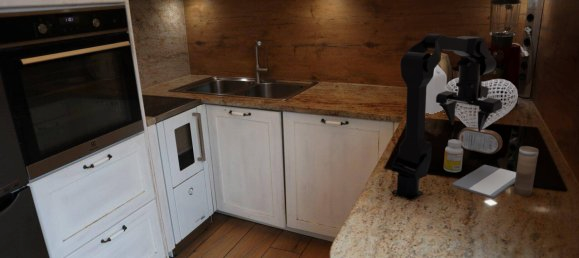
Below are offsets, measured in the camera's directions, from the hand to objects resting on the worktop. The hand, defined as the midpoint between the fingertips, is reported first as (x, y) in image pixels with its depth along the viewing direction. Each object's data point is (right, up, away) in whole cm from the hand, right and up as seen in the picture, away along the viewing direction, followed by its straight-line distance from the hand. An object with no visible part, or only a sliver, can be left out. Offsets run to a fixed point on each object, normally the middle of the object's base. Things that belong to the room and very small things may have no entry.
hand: (465, 127), depth 130 cm
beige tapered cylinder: (+11, -18, -12) cm, 25 cm away
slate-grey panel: (+5, -16, -4) cm, 17 cm away
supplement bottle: (-2, -14, +5) cm, 15 cm away
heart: (+23, -1, +45) cm, 50 cm away
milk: (+13, +7, +75) cm, 77 cm away
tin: (+13, -9, +21) cm, 26 cm away
